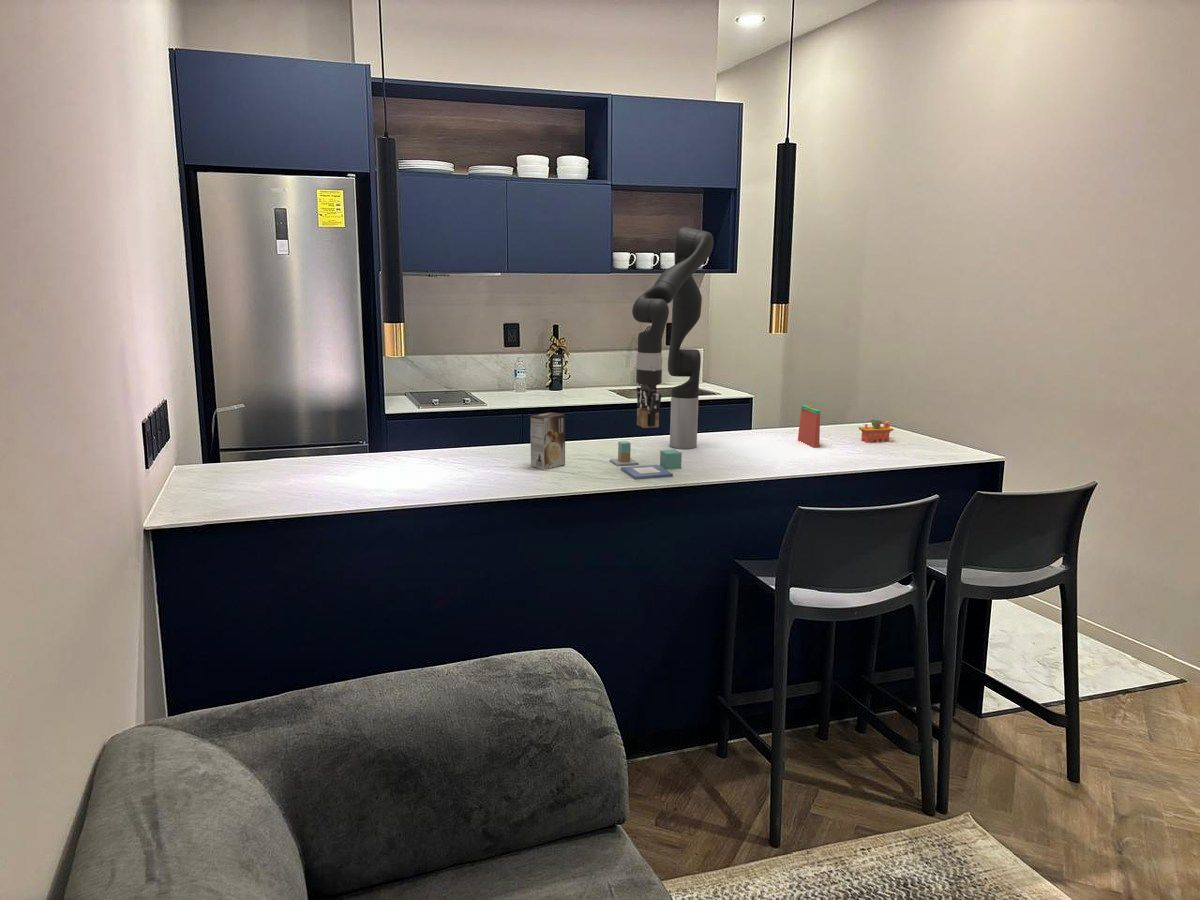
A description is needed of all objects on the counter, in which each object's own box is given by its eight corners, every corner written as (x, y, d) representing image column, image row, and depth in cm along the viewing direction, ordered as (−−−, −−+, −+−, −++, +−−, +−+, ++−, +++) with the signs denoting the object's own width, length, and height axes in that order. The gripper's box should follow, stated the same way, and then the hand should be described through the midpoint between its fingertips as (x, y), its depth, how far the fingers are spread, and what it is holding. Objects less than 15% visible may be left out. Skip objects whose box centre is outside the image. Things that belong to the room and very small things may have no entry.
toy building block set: (797, 440, 311) (800, 401, 307) (885, 437, 319) (888, 399, 316) (814, 448, 299) (816, 407, 296) (904, 444, 307) (908, 404, 304)
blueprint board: (620, 469, 266) (621, 466, 265) (657, 467, 269) (657, 464, 269) (635, 479, 254) (635, 476, 254) (672, 476, 258) (673, 473, 258)
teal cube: (659, 466, 271) (660, 450, 270) (674, 464, 273) (675, 449, 272) (666, 469, 267) (666, 453, 266) (681, 468, 268) (681, 452, 267)
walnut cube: (636, 424, 260) (637, 408, 259) (652, 423, 262) (652, 407, 261) (642, 428, 256) (643, 411, 255) (658, 427, 257) (659, 410, 256)
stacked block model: (609, 461, 276) (610, 440, 275) (630, 459, 278) (630, 439, 277) (617, 466, 270) (617, 445, 268) (638, 464, 272) (638, 444, 271)
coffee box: (551, 461, 275) (551, 411, 271) (565, 465, 270) (565, 414, 267) (529, 466, 268) (529, 415, 264) (544, 470, 264) (544, 418, 260)
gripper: (628, 364, 260) (627, 420, 264) (646, 371, 247) (645, 429, 251) (651, 364, 263) (650, 419, 266) (670, 370, 249) (669, 428, 253)
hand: (647, 424), depth 259 cm, fingers closed on walnut cube, 5 cm apart
